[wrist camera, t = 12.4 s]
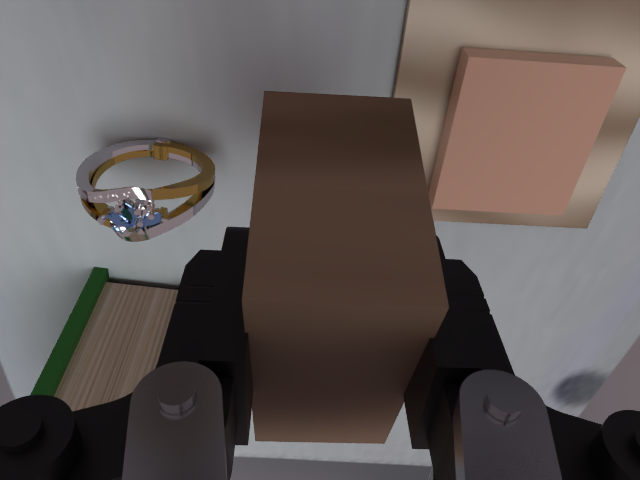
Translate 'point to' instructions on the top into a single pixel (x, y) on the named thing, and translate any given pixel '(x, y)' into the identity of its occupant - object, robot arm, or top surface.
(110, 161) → the ring
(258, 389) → the brown rectangular block
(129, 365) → the hardback book
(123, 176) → the top surface
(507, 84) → the tile
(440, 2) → the board
